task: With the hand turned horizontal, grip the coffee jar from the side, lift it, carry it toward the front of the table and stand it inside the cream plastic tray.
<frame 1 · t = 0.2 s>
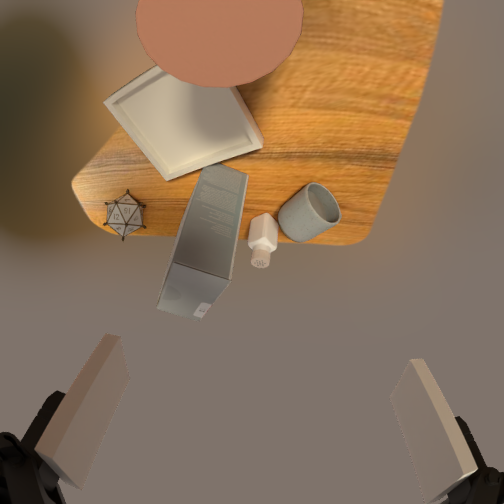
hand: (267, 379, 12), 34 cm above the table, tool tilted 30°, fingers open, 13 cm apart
tray: (184, 112, 38), on the table
pepper shaker: (265, 219, 55), on the table
game die: (132, 199, 54), on the table
hard drive box: (213, 195, 51), on the table
ceramic mug: (314, 200, 50), on the table
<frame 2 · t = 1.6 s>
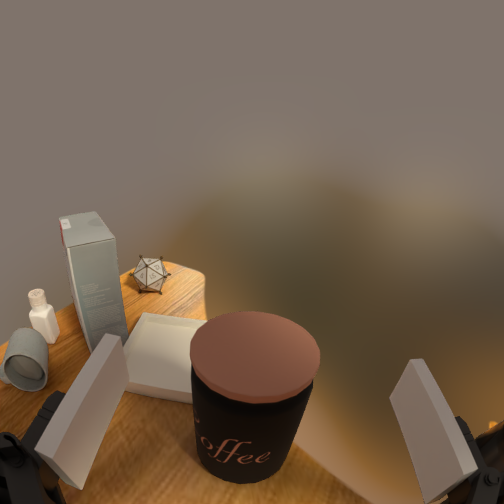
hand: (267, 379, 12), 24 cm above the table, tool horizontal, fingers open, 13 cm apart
tray: (177, 360, 44), on the table
pepper shaker: (49, 338, 42), on the table
coffee jar: (241, 452, 30), on the table
game die: (151, 291, 63), on the table
hard drive box: (100, 329, 48), on the table
ceramic mug: (28, 377, 33), on the table
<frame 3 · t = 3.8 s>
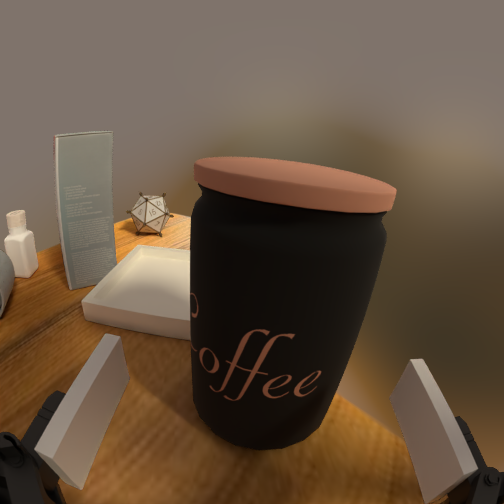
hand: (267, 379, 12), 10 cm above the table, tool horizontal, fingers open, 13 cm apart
tray: (175, 293, 36), on the table
pepper shaker: (25, 274, 35), on the table
coffee jar: (259, 404, 22), on the table
game die: (150, 234, 55), on the table
hard drive box: (86, 265, 41), on the table
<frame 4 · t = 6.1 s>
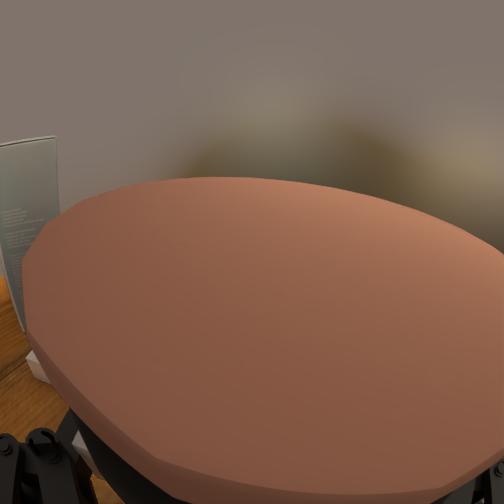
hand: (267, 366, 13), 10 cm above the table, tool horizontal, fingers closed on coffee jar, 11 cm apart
tray: (143, 342, 27), on the table
hard drive box: (46, 296, 31), on the table
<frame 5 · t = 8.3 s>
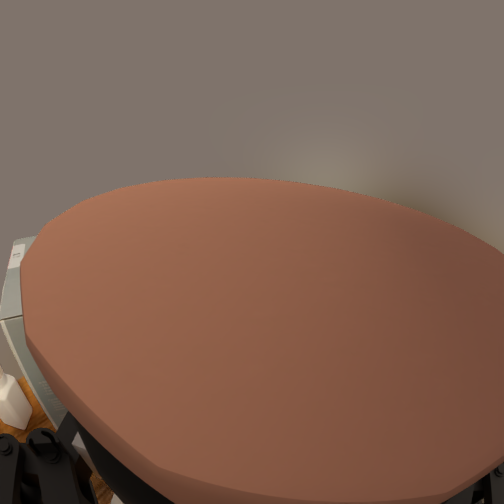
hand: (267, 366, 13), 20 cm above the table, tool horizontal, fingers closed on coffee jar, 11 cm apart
pepper shaker: (19, 418, 23), on the table
hard drive box: (91, 409, 28), on the table
when the fingers open (13 cm above the table, at t = 10.7 s): coffee jar drops 1 cm, resting on tray.
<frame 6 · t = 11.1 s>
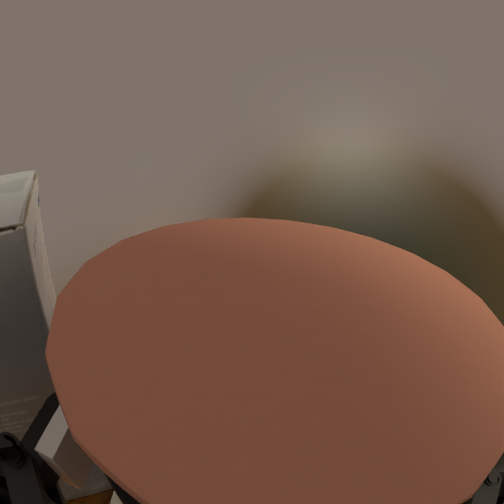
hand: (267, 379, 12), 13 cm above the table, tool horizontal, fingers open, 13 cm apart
hard drive box: (60, 427, 18), on the table
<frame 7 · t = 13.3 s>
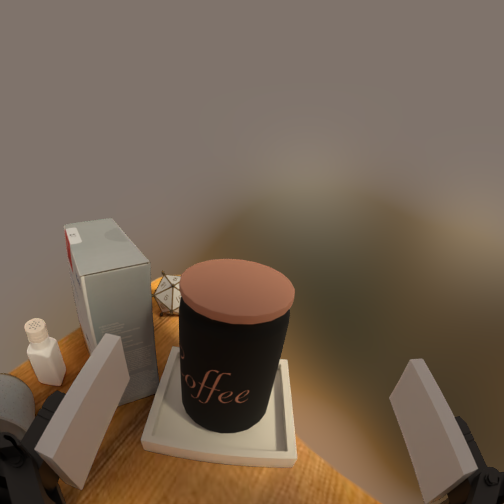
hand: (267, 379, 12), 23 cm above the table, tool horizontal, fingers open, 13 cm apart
tray: (223, 409, 34), on the table
pepper shaker: (53, 377, 32), on the table
coffee jar: (224, 405, 34), point 1 cm above the table, touching tray
game die: (175, 314, 53), on the table
hard drive box: (118, 366, 38), on the table
ceramic mug: (12, 432, 21), on the table
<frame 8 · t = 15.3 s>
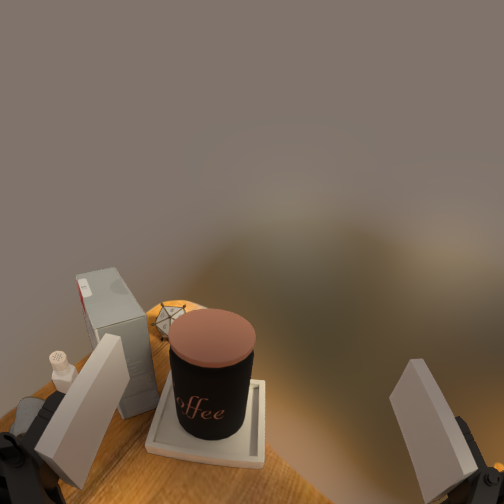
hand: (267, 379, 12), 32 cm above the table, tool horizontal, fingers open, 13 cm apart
tray: (210, 420, 42), on the table
pepper shaker: (73, 395, 40), on the table
coffee jar: (210, 418, 41), point 1 cm above the table, touching tray
game die: (173, 338, 61), on the table
hard drive box: (126, 385, 46), on the table
ceramic mug: (39, 441, 29), on the table
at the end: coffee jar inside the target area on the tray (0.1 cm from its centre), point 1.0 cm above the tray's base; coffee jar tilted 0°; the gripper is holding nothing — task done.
